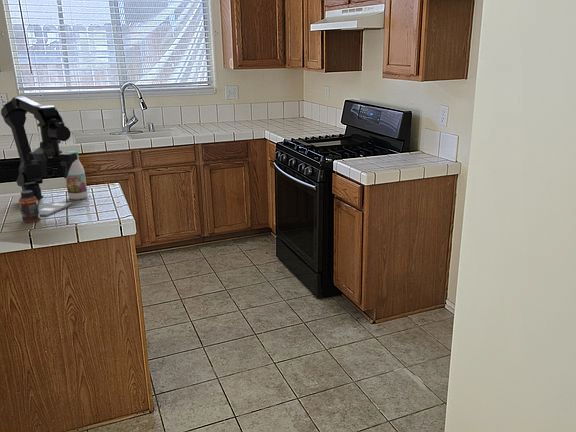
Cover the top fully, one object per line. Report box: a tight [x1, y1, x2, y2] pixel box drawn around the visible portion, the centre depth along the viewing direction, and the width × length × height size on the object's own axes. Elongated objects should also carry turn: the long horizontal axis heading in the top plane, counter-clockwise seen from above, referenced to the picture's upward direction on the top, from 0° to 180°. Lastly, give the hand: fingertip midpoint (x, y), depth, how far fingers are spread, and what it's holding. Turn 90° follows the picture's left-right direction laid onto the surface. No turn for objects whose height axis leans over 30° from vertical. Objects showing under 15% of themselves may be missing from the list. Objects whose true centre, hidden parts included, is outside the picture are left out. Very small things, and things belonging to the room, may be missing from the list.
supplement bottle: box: [18, 190, 41, 224], centre depth 187 cm, size 6×6×11 cm
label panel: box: [38, 201, 73, 218], centre depth 202 cm, size 10×16×1 cm, turn 167°
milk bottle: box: [65, 150, 88, 200], centre depth 217 cm, size 8×8×20 cm
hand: (55, 177), depth 203 cm, fingers open, 9 cm apart
